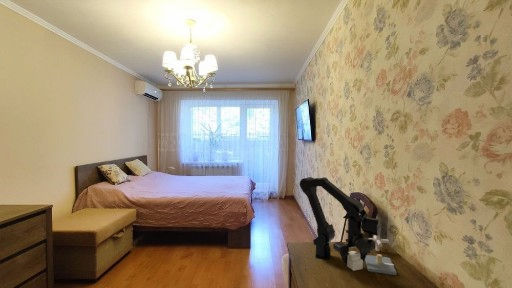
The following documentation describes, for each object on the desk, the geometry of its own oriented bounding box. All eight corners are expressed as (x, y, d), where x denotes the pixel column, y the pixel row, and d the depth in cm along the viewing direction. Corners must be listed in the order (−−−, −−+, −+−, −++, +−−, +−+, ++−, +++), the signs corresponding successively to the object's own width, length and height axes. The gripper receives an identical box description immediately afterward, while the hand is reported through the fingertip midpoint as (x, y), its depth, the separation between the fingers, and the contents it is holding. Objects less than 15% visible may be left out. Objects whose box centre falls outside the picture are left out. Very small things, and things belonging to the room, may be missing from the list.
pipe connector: (391, 255, 121) (391, 235, 120) (369, 254, 123) (370, 234, 122) (385, 246, 131) (385, 228, 130) (365, 245, 133) (365, 226, 132)
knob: (353, 270, 108) (353, 256, 108) (345, 264, 113) (346, 251, 112) (362, 268, 109) (362, 254, 109) (354, 263, 114) (355, 249, 114)
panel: (368, 271, 107) (368, 260, 107) (364, 257, 120) (364, 247, 120) (397, 275, 104) (397, 264, 104) (390, 260, 117) (390, 250, 116)
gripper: (349, 239, 100) (348, 277, 100) (385, 233, 106) (384, 269, 106) (332, 229, 110) (332, 263, 111) (366, 224, 116) (365, 257, 117)
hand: (354, 263), depth 111 cm, fingers open, 9 cm apart
